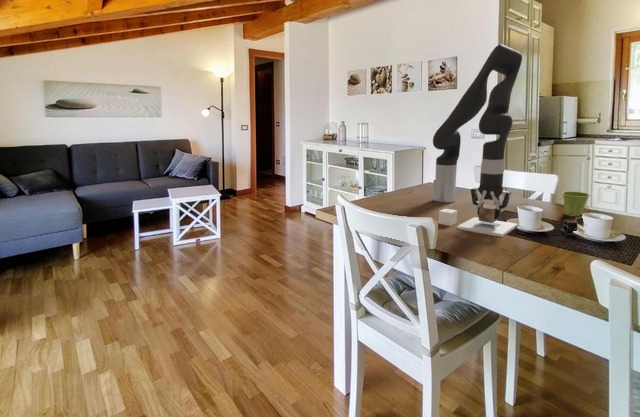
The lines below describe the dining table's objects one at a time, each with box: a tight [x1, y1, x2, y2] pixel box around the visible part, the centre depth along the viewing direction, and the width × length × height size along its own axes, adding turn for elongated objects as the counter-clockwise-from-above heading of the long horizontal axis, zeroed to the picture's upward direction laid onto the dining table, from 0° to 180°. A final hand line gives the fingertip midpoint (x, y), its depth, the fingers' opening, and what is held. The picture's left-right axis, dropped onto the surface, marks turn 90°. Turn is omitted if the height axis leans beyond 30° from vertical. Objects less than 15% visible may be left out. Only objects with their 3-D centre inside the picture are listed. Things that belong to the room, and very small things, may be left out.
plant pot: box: [561, 190, 591, 218], centre depth 167 cm, size 9×9×9 cm
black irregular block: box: [560, 219, 578, 234], centre depth 145 cm, size 12×7×5 cm, turn 166°
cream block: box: [438, 208, 458, 227], centre depth 160 cm, size 5×5×5 cm
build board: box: [456, 216, 519, 238], centre depth 153 cm, size 16×16×1 cm
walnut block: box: [478, 204, 499, 223], centre depth 152 cm, size 5×5×5 cm
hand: (488, 217), depth 153 cm, fingers closed on walnut block, 5 cm apart
